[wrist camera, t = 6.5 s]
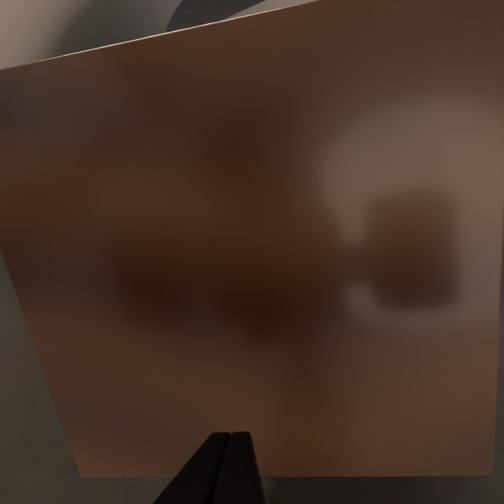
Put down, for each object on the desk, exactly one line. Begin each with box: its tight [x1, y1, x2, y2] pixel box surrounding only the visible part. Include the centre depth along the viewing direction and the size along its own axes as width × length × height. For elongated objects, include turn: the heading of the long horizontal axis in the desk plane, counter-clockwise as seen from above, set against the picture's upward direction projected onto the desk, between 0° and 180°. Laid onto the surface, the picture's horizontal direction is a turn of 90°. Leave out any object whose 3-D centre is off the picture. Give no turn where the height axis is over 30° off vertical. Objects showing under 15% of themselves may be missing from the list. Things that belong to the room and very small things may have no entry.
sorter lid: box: [0, 0, 504, 478], centre depth 9 cm, size 12×13×1 cm
